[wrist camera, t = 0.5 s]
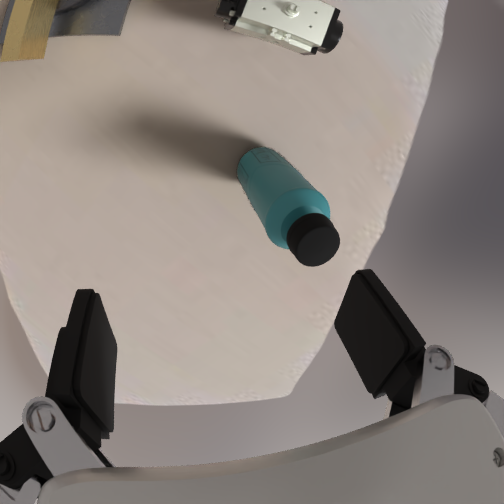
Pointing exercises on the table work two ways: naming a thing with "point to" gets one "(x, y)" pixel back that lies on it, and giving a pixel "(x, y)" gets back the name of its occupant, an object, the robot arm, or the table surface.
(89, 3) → the housing
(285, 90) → the table surface
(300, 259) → the beverage bottle
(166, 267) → the table surface
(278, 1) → the pneumatic valve
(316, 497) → the robot arm
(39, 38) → the gold slotted fixture
